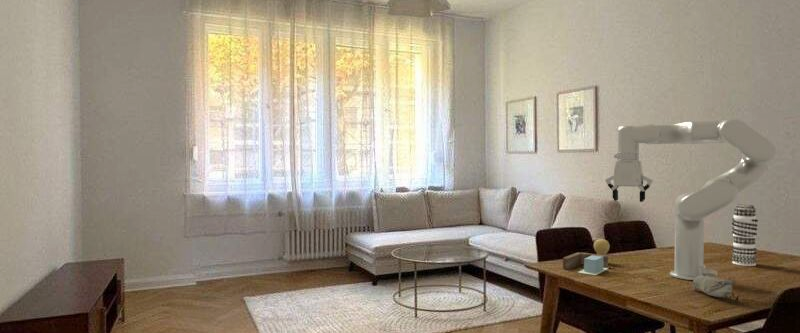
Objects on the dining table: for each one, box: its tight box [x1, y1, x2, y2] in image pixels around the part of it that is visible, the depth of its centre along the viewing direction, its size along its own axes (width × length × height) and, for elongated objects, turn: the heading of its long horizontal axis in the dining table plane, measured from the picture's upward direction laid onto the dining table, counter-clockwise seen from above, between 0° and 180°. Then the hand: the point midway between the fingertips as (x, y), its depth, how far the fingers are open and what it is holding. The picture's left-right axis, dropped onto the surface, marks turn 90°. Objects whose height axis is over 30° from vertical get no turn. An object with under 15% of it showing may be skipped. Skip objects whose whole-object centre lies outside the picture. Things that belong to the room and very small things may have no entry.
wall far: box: [562, 251, 582, 270], centre depth 211 cm, size 2×16×4 cm, turn 139°
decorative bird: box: [692, 275, 740, 304], centre depth 166 cm, size 5×16×8 cm, turn 12°
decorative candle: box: [731, 203, 759, 267], centre depth 215 cm, size 9×9×25 cm
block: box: [583, 255, 603, 273], centre depth 203 cm, size 9×4×5 cm, turn 140°
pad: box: [577, 267, 609, 276], centre depth 203 cm, size 7×15×1 cm, turn 140°
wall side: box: [578, 251, 609, 268], centre depth 213 cm, size 12×2×4 cm, turn 50°
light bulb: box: [593, 238, 611, 256], centre depth 218 cm, size 6×6×10 cm
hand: (628, 201), depth 200 cm, fingers open, 9 cm apart
